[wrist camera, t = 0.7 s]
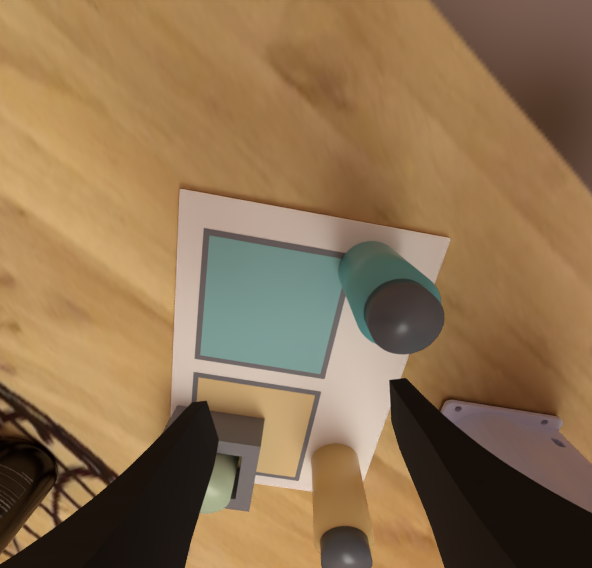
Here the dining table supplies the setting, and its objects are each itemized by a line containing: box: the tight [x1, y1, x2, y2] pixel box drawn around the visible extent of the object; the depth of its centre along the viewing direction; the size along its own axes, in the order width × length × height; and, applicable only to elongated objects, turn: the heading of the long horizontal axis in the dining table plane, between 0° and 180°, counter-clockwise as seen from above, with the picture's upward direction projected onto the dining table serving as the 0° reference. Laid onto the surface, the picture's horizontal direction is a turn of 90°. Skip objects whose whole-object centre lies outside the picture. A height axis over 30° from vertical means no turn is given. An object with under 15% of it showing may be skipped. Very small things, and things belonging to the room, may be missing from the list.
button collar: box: [163, 405, 265, 512], centre depth 24 cm, size 7×7×3 cm
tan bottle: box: [311, 443, 374, 568], centre depth 22 cm, size 4×4×7 cm
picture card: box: [170, 189, 451, 491], centre depth 23 cm, size 17×24×1 cm
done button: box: [200, 453, 239, 514], centre depth 23 cm, size 4×4×3 cm
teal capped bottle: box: [339, 241, 444, 354], centre depth 16 cm, size 4×4×7 cm
